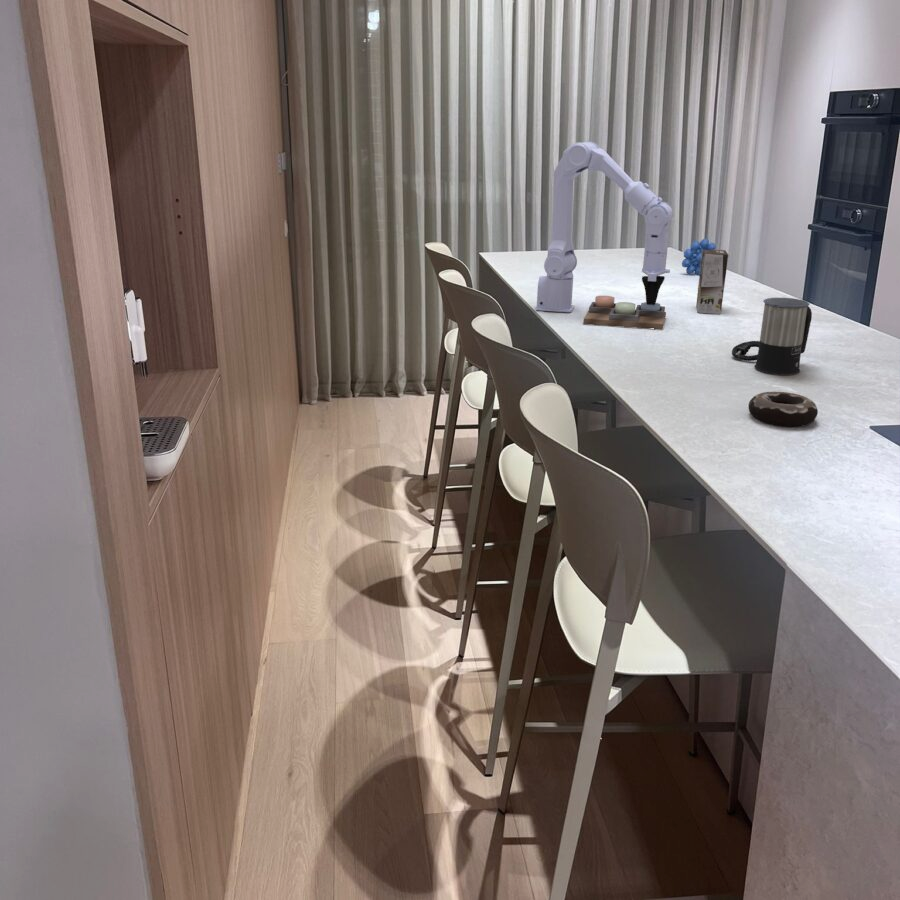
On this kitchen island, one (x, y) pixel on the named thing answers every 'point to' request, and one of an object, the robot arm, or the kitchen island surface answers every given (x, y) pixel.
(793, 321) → the milk frother
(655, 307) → the button slate
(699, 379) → the kitchen island surface
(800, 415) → the donut
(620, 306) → the button sage
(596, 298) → the button terracotta
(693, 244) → the grapes
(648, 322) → the panel
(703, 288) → the coffee box
